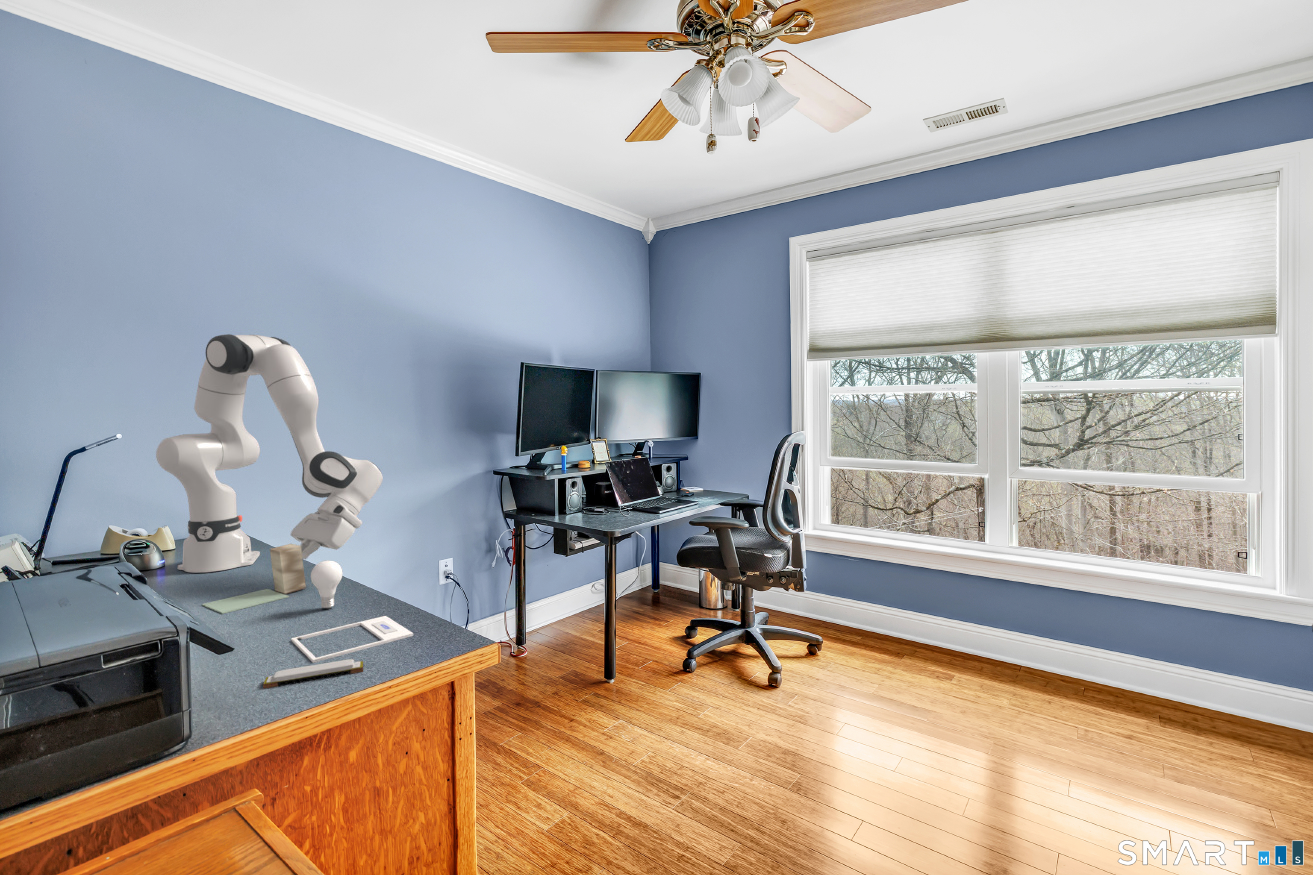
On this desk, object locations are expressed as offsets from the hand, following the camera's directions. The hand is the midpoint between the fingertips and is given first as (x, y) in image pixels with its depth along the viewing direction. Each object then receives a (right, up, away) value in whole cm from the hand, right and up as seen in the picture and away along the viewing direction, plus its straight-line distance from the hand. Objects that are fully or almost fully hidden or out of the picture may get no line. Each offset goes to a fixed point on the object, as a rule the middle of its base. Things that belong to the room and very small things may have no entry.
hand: (299, 557), depth 153 cm
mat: (-7, -8, -10) cm, 15 cm away
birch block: (-1, -8, -2) cm, 8 cm away
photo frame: (+31, -10, -34) cm, 47 cm away
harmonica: (+33, -11, -51) cm, 61 cm away
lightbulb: (+16, -9, -16) cm, 24 cm away
